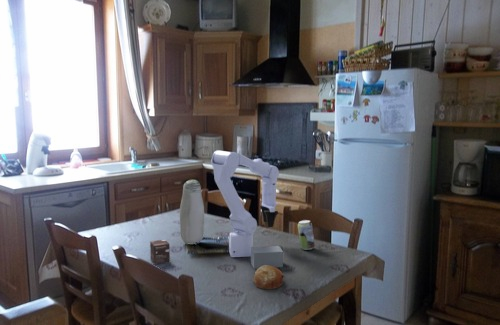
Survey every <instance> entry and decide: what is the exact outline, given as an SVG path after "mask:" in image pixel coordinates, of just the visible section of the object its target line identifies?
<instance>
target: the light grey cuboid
mask: <svg viewBox="0 0 500 325" xmlns="http://www.w3.org/2000/svg"><path fill="white" fill-rule="evenodd" d="M250 263H251V264H250V265H251V266H252V268H253V269H255V270H257V269H258V268H260V267H261V266H263V265H268V266H273V267H275V268H283V267H284V251H283V250H282V247H280V246H279V245H274V246H271V245H270V246H252V247H251V256H250Z"/></svg>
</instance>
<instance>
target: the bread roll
mask: <svg viewBox="0 0 500 325" xmlns="http://www.w3.org/2000/svg"><path fill="white" fill-rule="evenodd" d="M253 278H254V279H253V281H252V282H253V283H254V285H255V286H256V287H257V288H259V289H262V290H271V289H277V288H280V287H281V286H282V285H283V284H284V278H285V276H284V274H283V273H282V271H281V270H280V269H279V268H278V267H276V268H275V267H273V266H268V265H263V266H261V267H260V268H258V269H256V271H255V272H254V277H253Z"/></svg>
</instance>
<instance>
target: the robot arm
mask: <svg viewBox="0 0 500 325" xmlns="http://www.w3.org/2000/svg"><path fill="white" fill-rule="evenodd" d="M210 164H211V166H212V168H213V176H214V178H213V179H214V182H215V184H216V185H217V187H218V189H219V192H220V193H221V195H222V197H223V199H224V202H225V203H226V205H227V207H228V210H229V211H230V215H229V219H230V226H231V228H232V229H233V232H229V238H228V244H229V245H228V251H229V255H230V257H231V258H241V257H242V258H243V257H244V258H246V257H251V247H253V243H254V242H253V241H254V240H253V238H254V237H253V236H254V235H253V234H255V231H256V230H257V226H258V223H257V219H256V218H254V217H253V216H252V213H250V212H249V211H248V210H246V208H245V206H244V204H243V202H242V200H241V199H240V197H239V194H238V191H237V190H236V188H235V186H234V184H233V182H232V180H231V178H232V177H233V175H234V174H235V172H236V170H237V168H238V166H244V167H247V168H249V170H250V172H251V173H253V174H255V175H258V176H260V177H261V179H262V183H261V184H262V186H261V188H262V189H261V192H262V193H261V199H262V200H261V205H259V208H260V211H261V213H262V218H263V222H264V223H266V226H267V228H273V227H274V226H275V225H274V224H275V220H276V218H277V216H278V214H279V211H278V210H276V206H278V205H279V203H278V202H276V200H277V199H276V195H277V194H276V192H277V182H278V178H279V176H280V171H279V168H278V167H277V166H275V165H272V164H270V163H269V162H265V161H263V159H262V158H254V159H252V158H249V157H247V156H245V155H243V154H241V153H238V152H236V151H226V150H220V149H216V150H215V151H214V152H213V154H212V157H211V160H210Z"/></svg>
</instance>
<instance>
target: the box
mask: <svg viewBox="0 0 500 325" xmlns="http://www.w3.org/2000/svg"><path fill="white" fill-rule="evenodd" d="M149 243H150V245H149V246H150V252H149V254H150V255H149V256H150V261H151V262H152V263H153V264H154V265H159V264H166V263H170V261H171V258H170V257H171V256H170V254H171V253H170V249H171V248H170V242H168V240H166V239H160V240H152V241H150V242H149Z"/></svg>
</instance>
